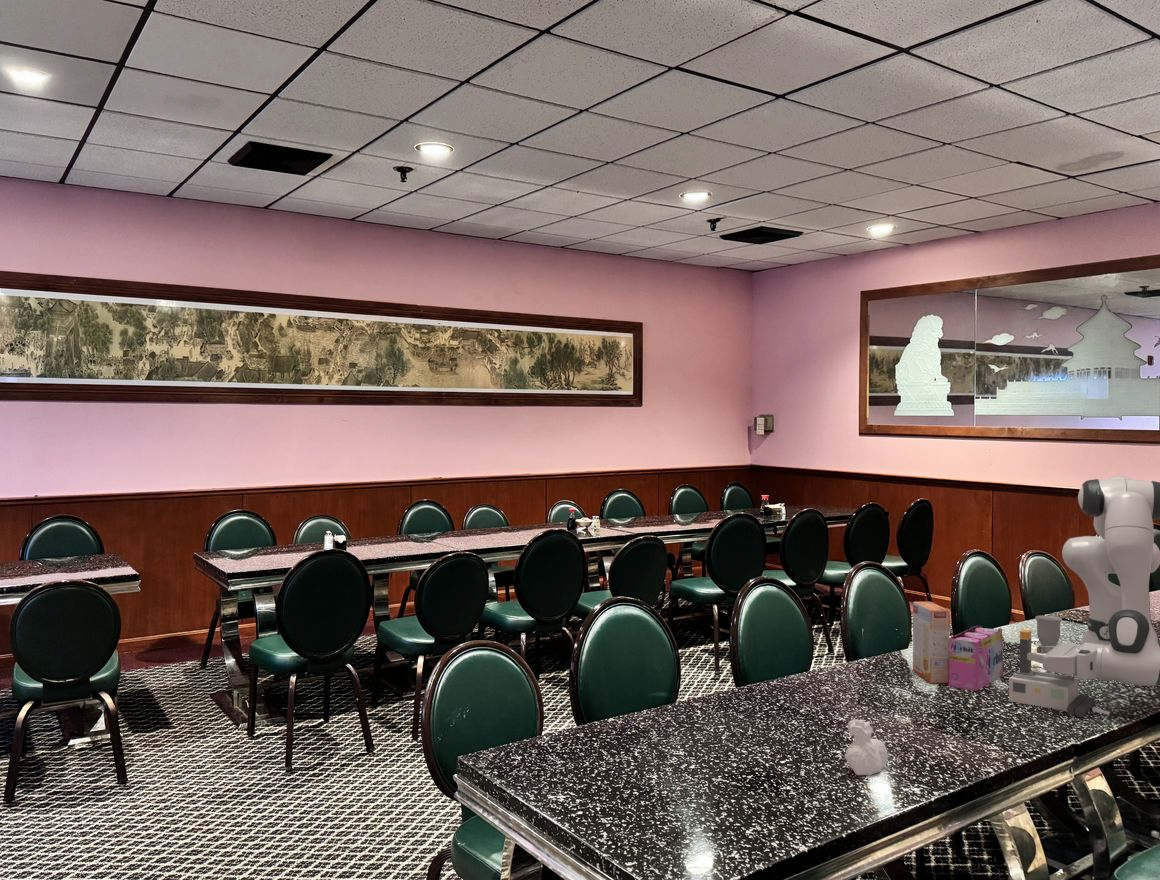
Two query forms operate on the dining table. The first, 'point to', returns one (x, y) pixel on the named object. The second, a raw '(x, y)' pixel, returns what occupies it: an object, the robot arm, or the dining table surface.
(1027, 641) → the breaker lever
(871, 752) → the bust
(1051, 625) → the chalice
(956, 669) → the gum box
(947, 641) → the cracker box
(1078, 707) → the dark grey grooved bar
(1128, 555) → the robot arm
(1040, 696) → the box
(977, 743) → the dining table surface
